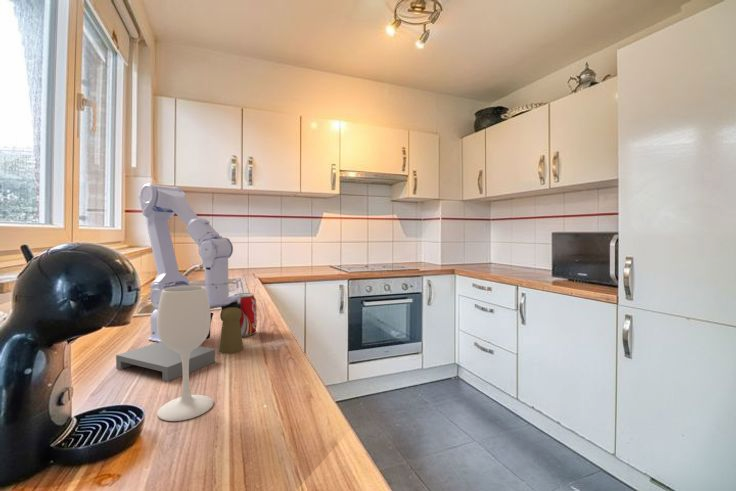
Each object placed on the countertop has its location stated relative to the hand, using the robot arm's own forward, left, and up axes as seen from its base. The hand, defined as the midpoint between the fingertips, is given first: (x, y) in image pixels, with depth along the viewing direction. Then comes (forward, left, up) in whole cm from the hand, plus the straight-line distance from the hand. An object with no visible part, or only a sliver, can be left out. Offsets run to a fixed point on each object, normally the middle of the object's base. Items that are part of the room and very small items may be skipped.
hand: (217, 334), depth 93 cm
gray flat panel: (-1, -14, -3) cm, 14 cm away
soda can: (-2, +12, -4) cm, 13 cm away
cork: (+5, 0, -4) cm, 6 cm away
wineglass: (+21, -26, -4) cm, 34 cm away
